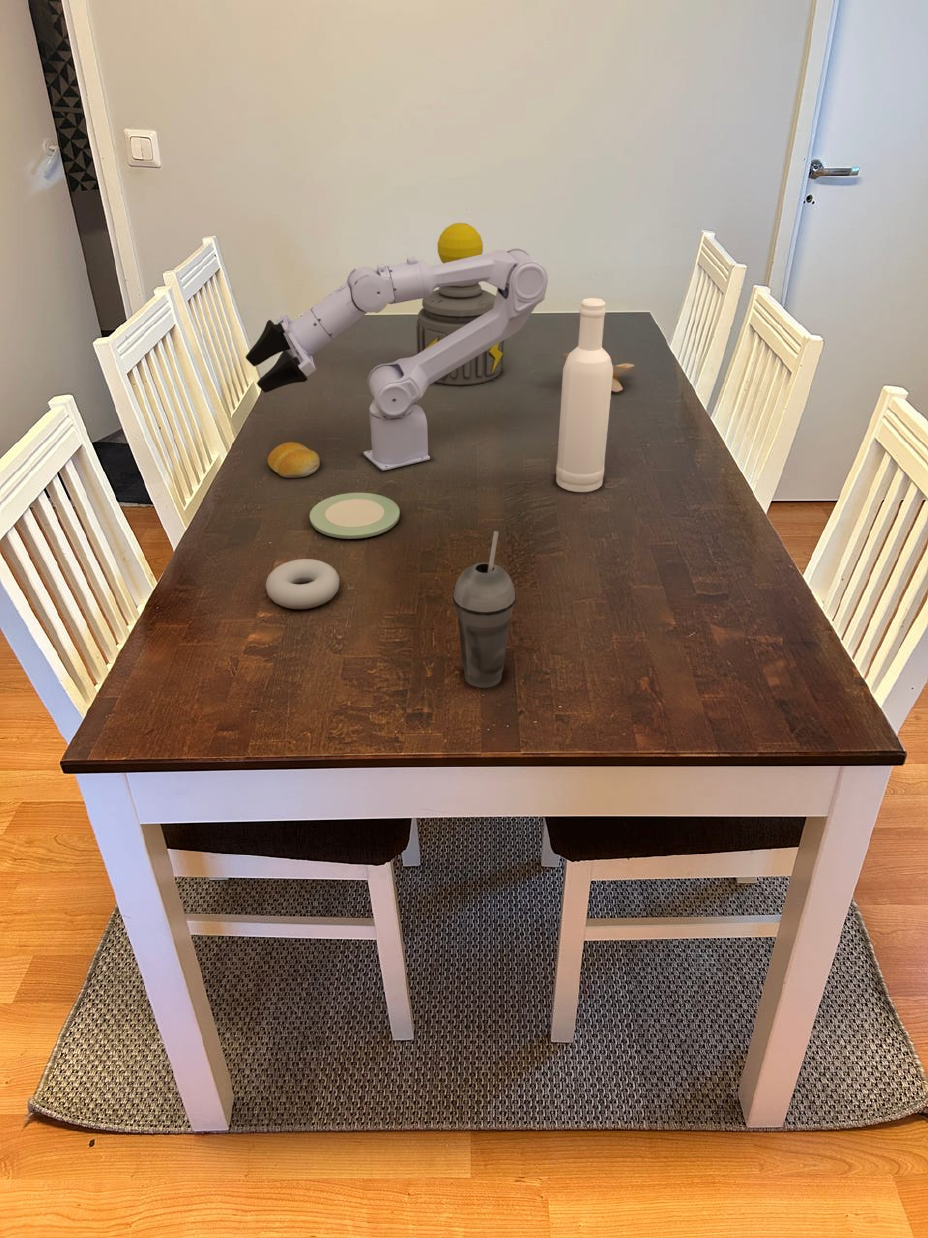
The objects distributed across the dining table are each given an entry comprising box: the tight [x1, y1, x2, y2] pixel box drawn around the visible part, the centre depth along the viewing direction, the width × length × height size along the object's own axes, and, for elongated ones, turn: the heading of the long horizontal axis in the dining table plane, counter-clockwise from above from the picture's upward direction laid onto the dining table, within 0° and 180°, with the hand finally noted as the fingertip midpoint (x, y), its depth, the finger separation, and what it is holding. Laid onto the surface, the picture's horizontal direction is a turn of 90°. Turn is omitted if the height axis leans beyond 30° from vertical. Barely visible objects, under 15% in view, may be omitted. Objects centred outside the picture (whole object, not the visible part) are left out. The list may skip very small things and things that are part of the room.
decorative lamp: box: [415, 222, 505, 387], centre depth 191 cm, size 19×19×30 cm
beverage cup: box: [452, 530, 517, 689], centre depth 107 cm, size 7×7×20 cm
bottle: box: [555, 297, 613, 493], centre depth 148 cm, size 8×8×30 cm
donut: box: [265, 558, 341, 610], centre depth 127 cm, size 10×4×10 cm
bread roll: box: [267, 441, 321, 479], centre depth 159 cm, size 8×9×4 cm
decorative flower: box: [560, 352, 636, 393], centre depth 190 cm, size 15×11×10 cm
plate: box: [309, 492, 401, 540], centre depth 145 cm, size 14×14×1 cm
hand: (255, 374), depth 150 cm, fingers open, 7 cm apart
